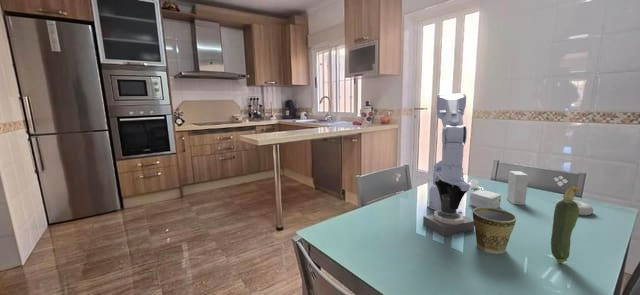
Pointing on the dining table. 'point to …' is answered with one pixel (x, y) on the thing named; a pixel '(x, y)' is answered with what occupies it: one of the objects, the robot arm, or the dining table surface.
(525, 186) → the skincare box
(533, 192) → the dining table surface
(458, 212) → the robot arm
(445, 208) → the lens
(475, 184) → the teacup and saucer
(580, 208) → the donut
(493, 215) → the ceramic cup
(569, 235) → the vegetable
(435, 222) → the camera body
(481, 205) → the small box
